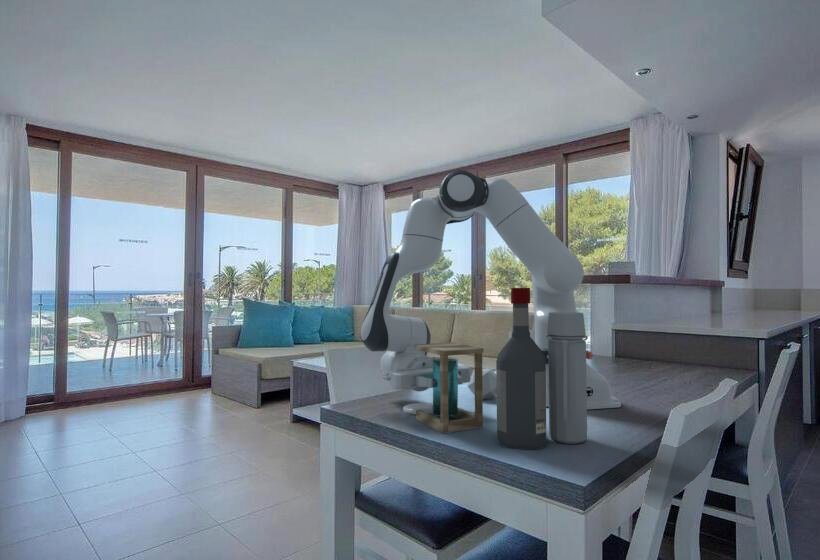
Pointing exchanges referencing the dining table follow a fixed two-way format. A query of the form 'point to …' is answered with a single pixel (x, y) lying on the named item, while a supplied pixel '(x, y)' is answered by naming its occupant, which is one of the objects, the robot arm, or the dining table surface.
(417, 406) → the coaster
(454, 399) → the can
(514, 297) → the liquor
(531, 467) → the dining table surface
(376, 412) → the dining table surface
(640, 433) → the dining table surface
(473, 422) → the rack
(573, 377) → the water bottle
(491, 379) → the die
